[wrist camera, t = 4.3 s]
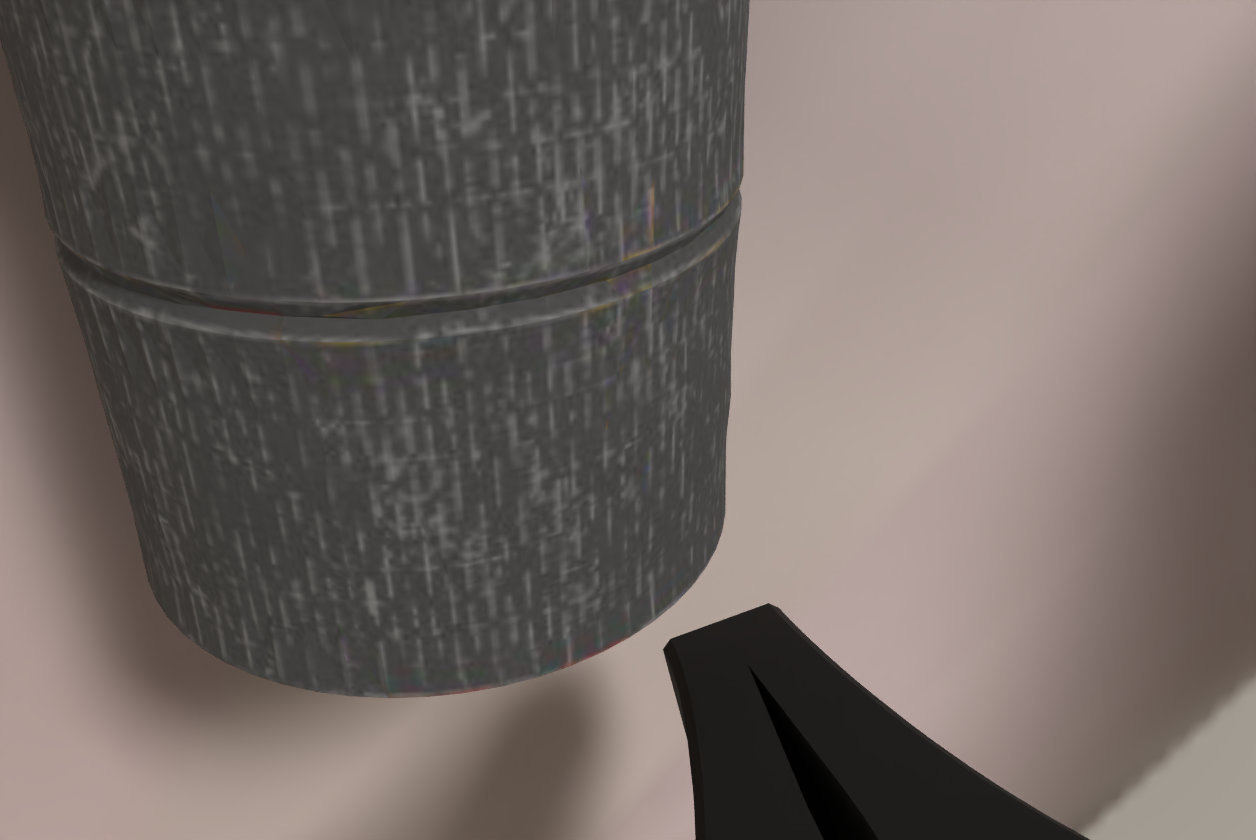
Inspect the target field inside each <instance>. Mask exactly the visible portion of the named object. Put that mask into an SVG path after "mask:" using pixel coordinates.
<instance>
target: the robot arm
mask: <svg viewBox="0 0 1256 840" xmlns="http://www.w3.org/2000/svg"><path fill="white" fill-rule="evenodd" d="M663 651H664V655H665V659H666V662H667V666H668V670H669V673H670V677H671V681H672V684H673V688H674V692H675V695H676V699H677V703H678V707H679V710H680V714H681V718H682V721H683V725H684V729H685V732H686V736H687V740H688V748H689V757H690V766H691V775H692V784H693V794H694V810H695V835H696V840H1089V839H1088V838H1086V837H1084V836H1082V835H1081V834H1079V833H1077V832H1075V831H1074V830H1072V829H1070V828H1068V827H1066V826H1065V825H1063V824H1061V823H1059V822H1058V821H1056V820H1054V819H1052V818H1050V817H1049V816H1047V815H1045V814H1044V813H1042V812H1040V811H1039V810H1037V809H1035V808H1034V807H1032V806H1031V805H1029V804H1027V803H1026V802H1024V801H1022V800H1021V799H1019V798H1017V797H1016V796H1014V795H1012V794H1011V793H1009V792H1008V791H1006V790H1004V789H1003V788H1001V787H1000V786H998V785H997V784H995V783H994V782H992V781H990V780H989V779H987V778H986V777H984V776H983V775H981V774H980V773H978V772H977V771H975V770H974V769H972V768H971V767H970V766H968V765H967V764H965V763H964V762H962V761H961V760H960V759H958V758H957V757H955V756H954V755H952V754H951V753H950V752H948V751H947V750H945V749H944V748H942V747H941V746H940V745H938V744H937V743H935V742H934V741H933V740H931V739H930V738H929V737H927V736H926V735H925V734H923V733H922V732H921V731H919V730H918V729H916V728H915V727H914V726H912V725H911V724H910V723H909V722H907V721H906V720H905V719H903V718H902V717H901V716H900V715H898V714H897V713H896V712H895V711H893V710H892V709H891V708H890V707H888V706H887V705H886V704H885V703H883V702H882V701H881V700H879V699H878V698H877V697H876V696H874V695H873V694H872V693H871V692H869V691H868V690H867V689H866V688H865V687H863V686H862V685H861V684H860V683H859V682H857V681H856V680H855V679H854V678H853V677H851V676H850V675H849V674H848V673H847V672H846V671H845V670H843V669H842V668H841V667H840V666H839V665H838V664H837V663H835V662H834V661H833V660H832V659H831V658H830V657H829V656H827V655H826V654H825V653H824V652H823V651H822V650H821V649H820V648H819V647H818V646H817V645H815V644H814V643H813V642H812V641H811V640H810V639H809V638H808V637H807V636H806V635H805V634H804V633H803V632H802V631H801V630H800V629H799V628H798V627H797V626H796V625H795V624H794V623H793V622H792V621H791V620H790V619H789V618H788V617H787V616H786V615H785V614H784V613H783V612H782V611H781V610H780V609H779V608H778V607H776V606H773V605H771V604H769V603H768V604H765V605H763V606H760V607H757V608H754V609H752V610H749V611H746V612H743V613H741V614H738V615H735V616H732V617H730V618H727V619H724V620H721V621H719V622H716V623H713V624H710V625H708V626H705V627H702V628H699V629H697V630H694V631H691V632H688V633H686V634H683V635H680V636H677V637H675V638H672V639H670V640H669V642H668V643H667V645H666V646H665V647H664V649H663Z"/></svg>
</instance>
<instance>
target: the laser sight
mask: <svg viewBox="0 0 1256 840" xmlns="http://www.w3.org/2000/svg"><path fill="white" fill-rule="evenodd" d="M748 18H749V0H0V39H1V42H2V46H3V50H4V53H5V57H6V60H7V64H8V67H9V71H10V75H11V78H12V82H13V85H14V89H15V92H16V96H17V99H18V103H19V106H20V110H21V113H22V116H23V119H24V122H25V126H26V129H27V132H28V135H29V138H30V142H31V146H32V150H33V154H34V158H35V163H36V167H37V171H38V176H39V181H40V187H41V192H42V197H43V203H44V208H45V214H46V218H47V220H48V223H49V225H50V227H51V230H52V231H53V232H54V233H55V234H56V238H55V243H56V253H57V256H58V259H59V263H60V266H61V269H62V272H63V275H64V278H65V281H66V284H67V287H68V290H69V293H70V296H71V299H72V302H73V306H74V309H75V312H76V315H77V318H78V321H79V324H80V327H81V330H82V333H83V336H84V340H85V343H86V347H87V350H88V354H89V357H90V361H91V365H92V368H93V372H94V375H95V379H96V382H97V386H98V390H99V393H100V397H101V400H102V404H103V407H104V411H105V414H106V418H107V421H108V425H109V428H110V431H111V435H112V438H113V442H114V445H115V449H116V452H117V456H118V460H119V463H120V467H121V470H122V474H123V478H124V481H125V485H126V488H127V492H128V496H129V499H130V503H131V507H132V511H133V515H134V520H135V524H136V528H137V533H138V537H139V541H140V546H141V550H142V554H143V559H144V563H145V568H146V572H147V576H148V581H149V583H150V586H151V588H152V591H153V593H154V595H155V598H156V600H157V601H158V603H159V604H160V606H161V608H162V609H163V611H164V612H165V614H166V615H167V617H168V618H169V619H170V620H171V621H172V622H173V623H174V624H175V625H176V626H177V627H178V629H179V630H180V631H181V632H182V633H183V634H184V635H186V636H187V637H188V638H189V639H191V640H192V641H193V642H195V643H196V644H197V645H198V646H200V647H201V648H202V649H204V650H205V651H207V652H209V653H210V654H212V655H214V656H216V657H217V658H219V659H221V660H222V661H224V662H226V663H228V664H230V665H232V666H235V667H237V668H239V669H242V670H244V671H246V672H248V673H251V674H253V675H256V676H259V677H262V678H265V679H268V680H272V681H275V682H278V683H281V684H284V685H289V686H293V687H298V688H303V689H307V690H312V691H316V692H324V693H332V694H339V695H347V696H360V697H380V698H404V697H430V696H440V695H449V694H459V693H467V692H472V691H478V690H484V689H489V688H495V687H500V686H505V685H508V684H512V683H516V682H520V681H524V680H528V679H532V678H536V677H539V676H542V675H545V674H548V673H551V672H554V671H557V670H560V669H563V668H565V667H568V666H571V665H573V664H576V663H578V662H580V661H583V660H585V659H587V658H590V657H592V656H594V655H597V654H599V653H601V652H603V651H605V650H607V649H609V648H611V647H612V646H614V645H616V644H618V643H620V642H622V641H624V640H625V639H627V638H629V637H631V636H632V635H634V634H635V633H637V632H638V631H640V630H641V629H643V628H644V627H646V626H647V625H649V624H650V623H652V622H653V621H655V620H656V619H657V618H658V617H659V616H661V615H662V614H663V613H664V612H665V611H667V610H668V609H669V608H670V607H672V606H673V605H674V604H675V603H676V602H677V601H678V600H679V599H680V598H681V597H682V596H683V595H684V594H685V593H686V592H687V591H688V590H689V589H690V588H691V587H692V585H693V584H694V583H695V581H696V580H697V579H698V577H699V576H700V575H701V573H702V572H703V571H704V569H705V568H706V566H707V564H708V563H709V561H710V559H711V557H712V555H713V553H714V552H715V550H716V547H717V544H718V542H719V539H720V536H721V533H722V529H723V524H724V518H725V479H726V435H727V424H728V416H729V407H730V398H731V340H732V321H733V302H734V277H735V261H736V251H737V240H738V230H739V223H740V216H741V200H742V197H741V193H740V190H739V188H740V185H741V181H742V178H743V160H744V93H745V73H746V56H747V37H748Z"/></svg>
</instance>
